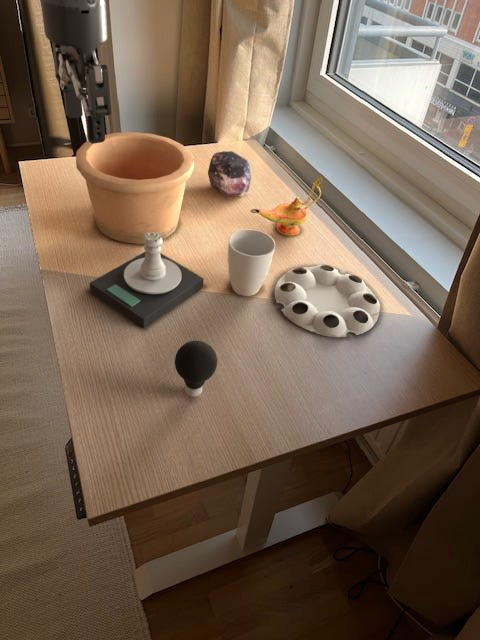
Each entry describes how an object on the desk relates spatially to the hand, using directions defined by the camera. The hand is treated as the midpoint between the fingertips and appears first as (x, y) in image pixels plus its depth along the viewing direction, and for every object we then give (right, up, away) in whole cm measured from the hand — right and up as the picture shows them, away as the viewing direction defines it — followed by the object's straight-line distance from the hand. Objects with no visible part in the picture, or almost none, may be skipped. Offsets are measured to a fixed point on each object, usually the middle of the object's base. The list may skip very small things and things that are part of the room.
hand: (85, 129), depth 73 cm
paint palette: (+38, -23, +23) cm, 50 cm away
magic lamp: (+31, -8, +39) cm, 50 cm away
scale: (+5, -21, +19) cm, 29 cm away
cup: (+23, -21, +23) cm, 39 cm away
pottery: (0, -6, +35) cm, 36 cm away
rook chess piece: (+6, -19, +18) cm, 27 cm away
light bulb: (+15, -38, +4) cm, 41 cm away
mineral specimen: (+19, +3, +48) cm, 52 cm away
